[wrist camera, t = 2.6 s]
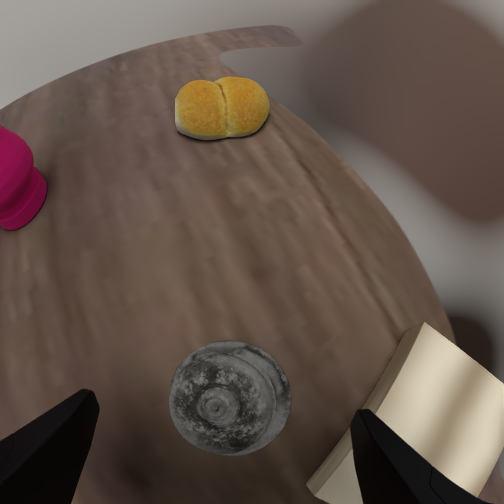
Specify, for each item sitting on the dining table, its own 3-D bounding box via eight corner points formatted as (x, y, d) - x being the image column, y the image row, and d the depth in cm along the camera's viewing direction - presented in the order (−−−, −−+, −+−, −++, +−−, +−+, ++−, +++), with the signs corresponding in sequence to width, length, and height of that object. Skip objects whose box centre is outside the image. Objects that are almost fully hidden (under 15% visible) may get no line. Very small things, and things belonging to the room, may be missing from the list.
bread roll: (277, 137, 26) (282, 102, 23) (178, 151, 25) (171, 116, 21) (257, 89, 30) (258, 59, 26) (174, 100, 29) (169, 69, 25)
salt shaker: (266, 339, 18) (306, 252, 7) (293, 429, 16) (378, 481, 5) (172, 361, 17) (73, 305, 6) (196, 452, 15) (126, 534, 4)
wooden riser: (501, 402, 15) (521, 399, 13) (427, 534, 11) (444, 544, 9) (405, 331, 18) (424, 321, 16) (305, 483, 14) (314, 495, 12)
